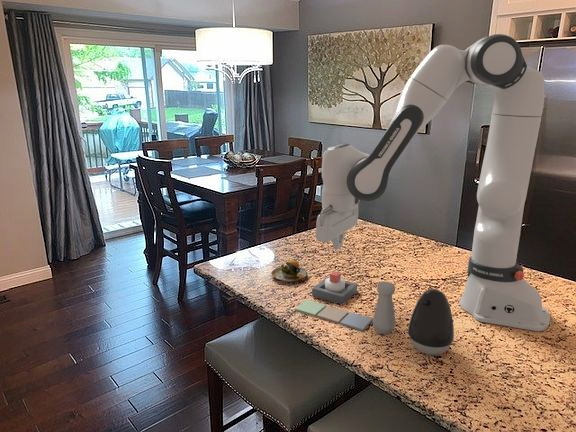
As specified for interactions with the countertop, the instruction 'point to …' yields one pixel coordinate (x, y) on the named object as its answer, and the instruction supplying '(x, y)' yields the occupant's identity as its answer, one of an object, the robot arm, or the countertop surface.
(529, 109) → the robot arm
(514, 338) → the countertop surface
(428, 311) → the dark grey egg device
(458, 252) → the countertop surface
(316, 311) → the track
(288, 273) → the bowl of food
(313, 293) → the button housing
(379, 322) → the salt shaker
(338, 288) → the dome
